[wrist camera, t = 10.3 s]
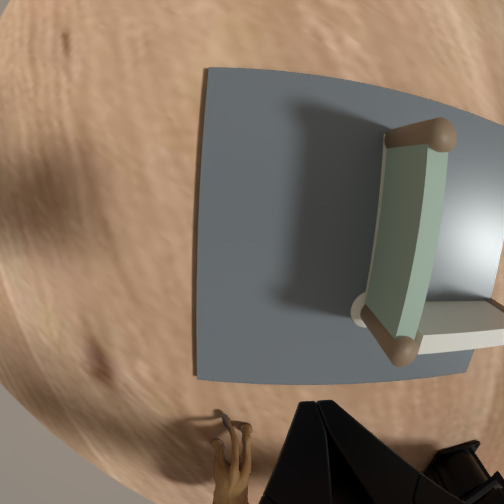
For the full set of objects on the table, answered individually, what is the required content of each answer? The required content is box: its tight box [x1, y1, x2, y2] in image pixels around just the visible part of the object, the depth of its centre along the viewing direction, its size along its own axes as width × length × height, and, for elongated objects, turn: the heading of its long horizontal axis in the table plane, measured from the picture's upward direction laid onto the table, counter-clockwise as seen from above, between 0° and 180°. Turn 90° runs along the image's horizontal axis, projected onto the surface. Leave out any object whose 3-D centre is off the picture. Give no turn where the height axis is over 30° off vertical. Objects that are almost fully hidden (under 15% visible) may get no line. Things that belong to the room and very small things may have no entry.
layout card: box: [196, 67, 504, 385], centre depth 19 cm, size 22×20×1 cm
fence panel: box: [360, 117, 457, 367], centre depth 15 cm, size 12×2×5 cm, turn 175°
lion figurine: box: [211, 414, 252, 504], centre depth 20 cm, size 12×4×7 cm, turn 6°
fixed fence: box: [414, 298, 504, 354], centre depth 17 cm, size 10×2×6 cm, turn 86°
